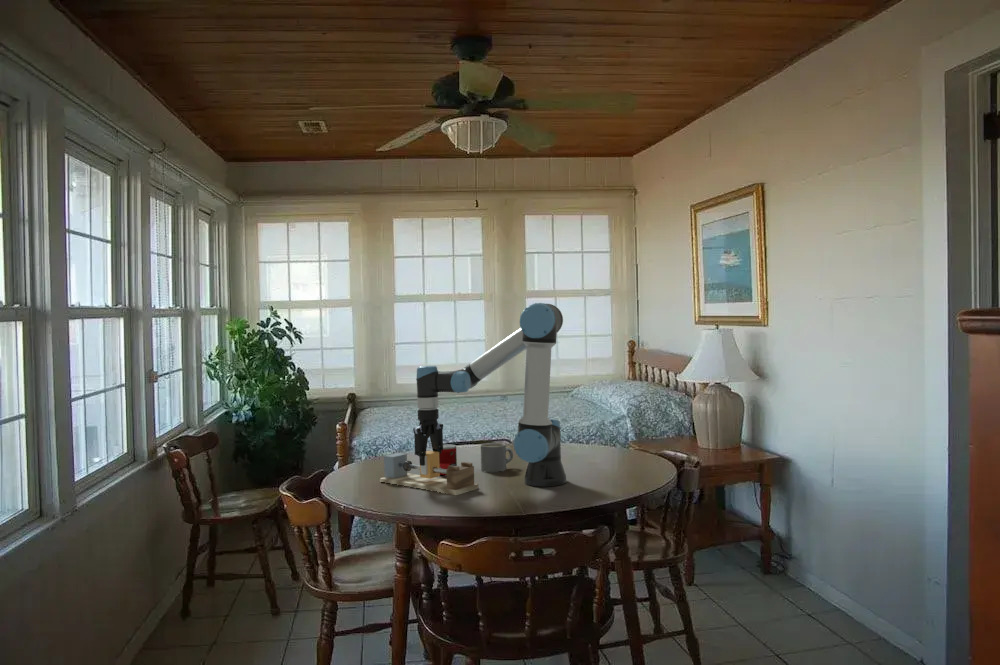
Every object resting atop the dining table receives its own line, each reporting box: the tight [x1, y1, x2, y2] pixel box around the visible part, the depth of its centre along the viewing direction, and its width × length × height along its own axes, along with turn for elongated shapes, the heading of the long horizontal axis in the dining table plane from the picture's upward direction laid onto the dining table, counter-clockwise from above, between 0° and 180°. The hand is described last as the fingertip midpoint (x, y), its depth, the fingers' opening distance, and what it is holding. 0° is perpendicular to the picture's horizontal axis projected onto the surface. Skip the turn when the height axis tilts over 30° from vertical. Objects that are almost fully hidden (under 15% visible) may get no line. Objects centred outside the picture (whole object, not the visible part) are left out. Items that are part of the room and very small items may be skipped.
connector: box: [383, 452, 408, 479], centre depth 267 cm, size 5×7×8 cm
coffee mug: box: [480, 442, 514, 473], centre depth 281 cm, size 13×10×10 cm
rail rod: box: [399, 460, 448, 474], centre depth 257 cm, size 29×4×4 cm, turn 52°
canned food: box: [439, 443, 458, 475], centre depth 275 cm, size 8×8×11 cm
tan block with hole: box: [419, 450, 441, 479], centre depth 256 cm, size 5×5×9 cm
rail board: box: [379, 461, 479, 496], centre depth 257 cm, size 38×12×9 cm, turn 52°
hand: (429, 472), depth 256 cm, fingers closed on tan block with hole, 5 cm apart
